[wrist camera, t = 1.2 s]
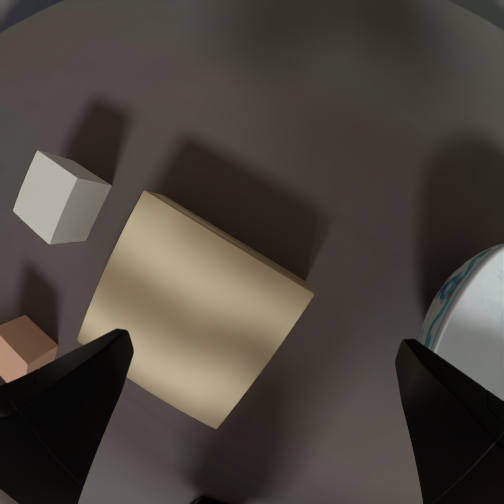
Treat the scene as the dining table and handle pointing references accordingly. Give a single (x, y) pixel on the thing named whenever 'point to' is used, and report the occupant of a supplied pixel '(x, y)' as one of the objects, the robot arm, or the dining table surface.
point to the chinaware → (471, 320)
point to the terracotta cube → (23, 348)
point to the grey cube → (60, 198)
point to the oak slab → (193, 308)
